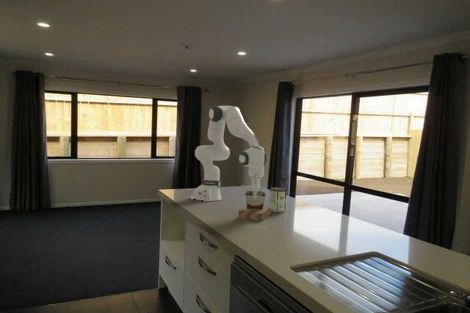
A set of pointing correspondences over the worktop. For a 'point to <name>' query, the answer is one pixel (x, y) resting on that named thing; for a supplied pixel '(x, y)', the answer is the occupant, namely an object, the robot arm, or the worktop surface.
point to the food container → (255, 200)
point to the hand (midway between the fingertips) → (255, 196)
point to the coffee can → (278, 199)
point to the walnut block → (255, 214)
